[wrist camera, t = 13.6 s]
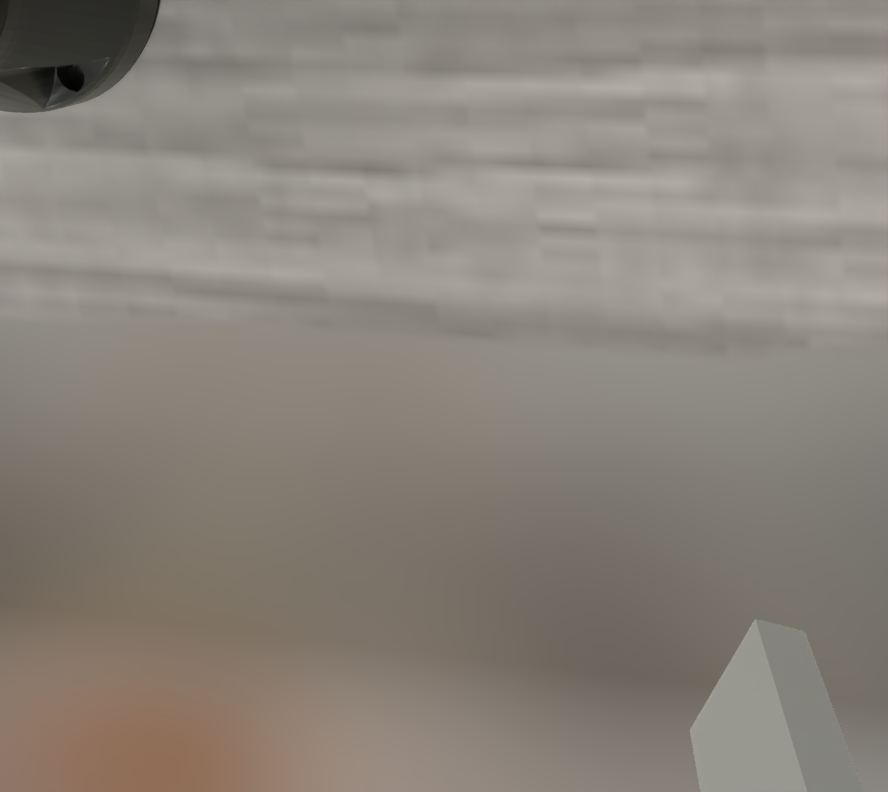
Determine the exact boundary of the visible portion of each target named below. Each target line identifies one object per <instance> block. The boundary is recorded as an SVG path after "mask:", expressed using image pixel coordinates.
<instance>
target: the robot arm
mask: <svg viewBox="0 0 888 792" xmlns="http://www.w3.org/2000/svg"><path fill="white" fill-rule="evenodd" d="M157 5H158V0H0V110H1V111H7V112H21V113H34V112H45V111H51V110H55V109H59V108H63V107H67V106H71V105H75V104H79V103H82V102H85V101H88V100H91V99H93V98H95V97H97V96H99V95H101V94H102V93H104V92H106V91H107V90H109V89H110V88H111V87H113V86H114V85H115V84H116V83H117V82H119V81H120V80H121V79H122V78H123V77H124V76H125V75H126V73H127V72H128V71H129V70H130V69H131V67H132V66H133V65H134V63H135V62H136V61H137V59H138V57H139V56H140V54H141V52H142V50H143V48H144V46H145V44H146V42H147V40H148V37H149V35H150V32H151V29H152V26H153V23H154V19H155V15H156V11H157ZM690 734H691V740H692V746H693V752H694V758H695V763H696V769H697V775H698V781H699V787H700V792H864V791H863V788H862V786H861V783H860V780H859V777H858V775H857V772H856V769H855V767H854V764H853V761H852V758H851V756H850V753H849V750H848V748H847V745H846V742H845V739H844V737H843V734H842V731H841V729H840V726H839V723H838V720H837V718H836V715H835V712H834V710H833V707H832V704H831V701H830V699H829V696H828V693H827V691H826V688H825V685H824V682H823V680H822V677H821V674H820V672H819V669H818V666H817V663H816V661H815V658H814V655H813V653H812V650H811V647H810V645H809V642H808V639H807V636H806V634H805V631H803V630H799V629H795V628H790V627H787V626H783V625H778V624H774V623H770V622H766V621H762V620H758V619H755V620H754V622H753V624H752V625H751V627H750V629H749V630H748V632H747V634H746V636H745V637H744V639H743V641H742V642H741V644H740V646H739V647H738V649H737V651H736V653H735V654H734V656H733V658H732V659H731V661H730V663H729V665H728V666H727V668H726V670H725V671H724V673H723V675H722V676H721V678H720V680H719V682H718V683H717V685H716V687H715V689H714V690H713V692H712V693H711V695H710V697H709V699H708V700H707V702H706V704H705V705H704V707H703V709H702V711H701V712H700V714H699V716H698V717H697V719H696V721H695V722H694V724H693V726H692V727H691V729H690Z"/></svg>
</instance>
